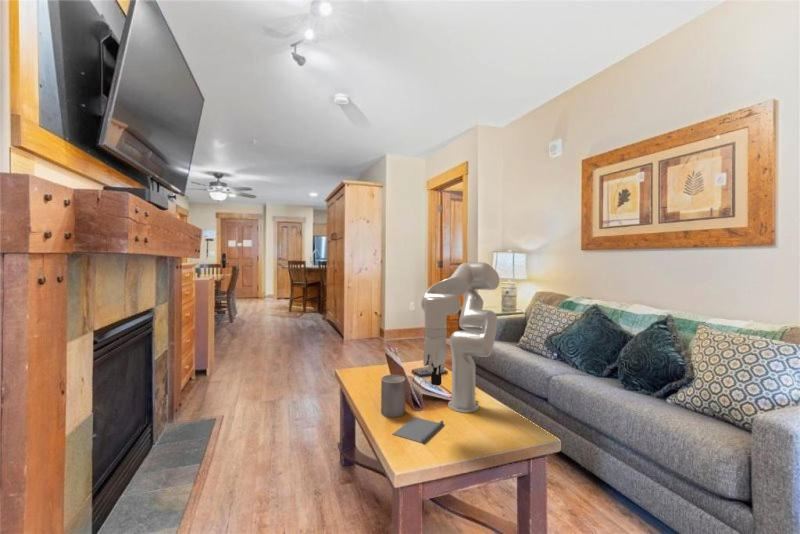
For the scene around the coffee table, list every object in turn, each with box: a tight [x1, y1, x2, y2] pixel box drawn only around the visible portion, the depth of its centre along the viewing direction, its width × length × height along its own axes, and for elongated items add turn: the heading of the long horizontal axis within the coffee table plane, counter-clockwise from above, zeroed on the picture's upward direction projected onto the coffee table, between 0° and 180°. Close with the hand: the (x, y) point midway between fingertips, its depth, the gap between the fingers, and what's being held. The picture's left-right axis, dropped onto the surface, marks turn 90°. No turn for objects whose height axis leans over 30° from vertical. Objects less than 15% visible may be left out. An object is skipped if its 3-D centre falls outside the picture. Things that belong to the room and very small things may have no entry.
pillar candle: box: [380, 374, 406, 418], centre depth 141 cm, size 10×10×15 cm
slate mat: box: [392, 416, 445, 445], centre depth 126 cm, size 16×12×2 cm
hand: (436, 384), depth 123 cm, fingers closed
